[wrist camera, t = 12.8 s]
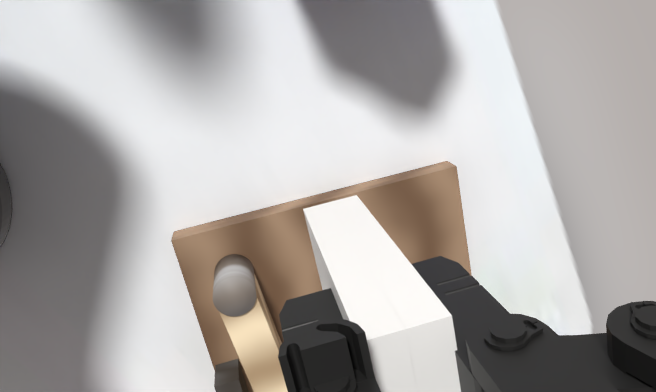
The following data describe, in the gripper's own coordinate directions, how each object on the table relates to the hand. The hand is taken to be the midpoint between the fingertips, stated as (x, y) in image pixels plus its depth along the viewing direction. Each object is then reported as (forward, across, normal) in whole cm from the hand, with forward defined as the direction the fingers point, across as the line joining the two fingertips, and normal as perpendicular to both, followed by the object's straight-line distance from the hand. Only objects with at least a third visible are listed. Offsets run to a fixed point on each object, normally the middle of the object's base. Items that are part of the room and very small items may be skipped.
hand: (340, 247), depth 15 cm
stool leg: (+27, -5, -18) cm, 33 cm away
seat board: (+29, +2, -18) cm, 35 cm away
